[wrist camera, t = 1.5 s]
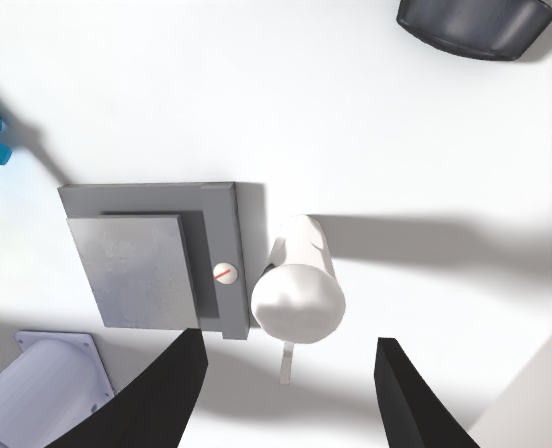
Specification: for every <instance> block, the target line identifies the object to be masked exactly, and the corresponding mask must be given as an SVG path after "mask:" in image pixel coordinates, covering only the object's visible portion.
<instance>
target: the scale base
mask: <svg viewBox="0 0 552 448" xmlns="http://www.w3.org/2000/svg"><path fill="white" fill-rule="evenodd" d="M57 189H58V192H59V195H60V198H61V201H62V203H63V206H64V209H65V212H66V215H67V217H70V216H72V215H181V221H182V226H183V231H184V236H185V241H186V247H187V252H188V257H189V262H190V267H191V273H192V278H193V283H194V288H195V293H196V299H197V304H198V309H199V314H200V320H201V327H200V329H201V331H215V332H222V335H223V339H235V340H247V337H248V333H249V329H250V319H249V310H248V301H247V291H246V282H245V273H244V263H243V254H242V245H241V235H240V226H239V217H238V207H237V198H236V189H235V182H195V183H144V184H93V185H64V186H61V187H59V188H57ZM116 328H125V327H116ZM141 329H150V328H141ZM166 330H175V329H166Z"/></svg>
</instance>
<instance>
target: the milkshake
mask: <svg viewBox="0 0 552 448" xmlns="http://www.w3.org/2000/svg"><path fill="white" fill-rule="evenodd" d="M251 310H252V313H253V315H254V317H255V319H256V320H257V322H258V323H259V325H260V326H261V327H262V329H263V330H264V331H265V332H266V333H267V334H269V335H270V336H272V337H275V338H277V339H280V340H282V341H285V343H284V351H283V358H282V366H281V373H280V381H279V382H280V384H285V385H289V380H290V372H291V363H292V354H293V346H294V344H311V343H315V342H318V341H320V340H322V339H323V338H325V337H327V336H328V335H330V334H331V333H332V332H333V331H334V330H335V329H336V328H337V327H338V326H339V324H340V322H341V320H342V318H343V315H344V312H345V298H344V294H343V292H342V289H341V286H340V283H339V281H338V278H337V275H336V272H335V269H334V266H333V263H332V260H331V256H330V253H329V249H328V245H327V242H326V238H325V235H324V232H323V230H322V228H321V226H320V224H319V222H318V221H317V220H315V219H313V218H311V217H309V216H307V215H299V216H291V217H290V218H289V219H288V220H287V221H286V222H284V223H283V224H282V225H281V227H280V230H279V232H278V235H277V238H276V240H275V243H274V245H273V248H272V250H271V253H270V255H269V258H268V260H267V262H266V264H265V267H264V269H263V271H262V273H261V275H260V277H259V280H258V282H257V284H256V286H255V288H254V290H253V294H252V300H251Z"/></svg>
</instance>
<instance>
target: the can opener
mask: <svg viewBox="0 0 552 448" xmlns="http://www.w3.org/2000/svg"><path fill="white" fill-rule="evenodd" d="M396 21H397V23H398V24H399V25H400V26H401V27H403V28H404V29H405V30H406V31H408V32H409V33H410V34H412V35H413V36H415V37H416V38H418V39H420V40H421V41H422V42H424V43H427V44H429V45H431V46H433V47H434V48H436V49H439V50H442V51H444V52H447V53H450V54H453V55H457V56H461V57H467V58H472V59H479V60H489V61H513V60H516V59H518V58H519V57H520V56H521V55H522V54H523V53H524V52H525V51H526V50H527V49H528V48H529V47H530V45H531V44H532V43H533V42H534V41H535V40H536V39H537V37H538V36H539V35H540V34H541V33H542V32H543V31H544V29H545V28H546V27H547V26H548V25H549V24H550V22H551V21H552V8H551V7H550V6H548V5H547V4H546V3H544V2H543V1H541V0H401V1H400V6H399V10H398V15H397V18H396Z"/></svg>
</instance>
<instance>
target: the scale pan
mask: <svg viewBox="0 0 552 448" xmlns="http://www.w3.org/2000/svg"><path fill="white" fill-rule="evenodd" d="M66 220H67V223H68V226H69V228H70V231H71V234H72V237H73V239H74V242H75V245H76V248H77V251H78V253H79V256H80V259H81V262H82V264H83V267H84V270H85V273H86V275H87V278H88V281H89V284H90V286H91V289H92V292H93V295H94V298H95V300H96V303H97V306H98V309H99V311H100V314H101V317H102V320H103V322H104V325H105V327H125V328H150V329H175V330H186V329H187V328H200V327H201V320H200V314H199V309H198V304H197V299H196V293H195V288H194V283H193V278H192V273H191V267H190V262H189V257H188V252H187V247H186V241H185V236H184V231H183V226H182V221H181V215H72V216H70V217H68V218H66Z"/></svg>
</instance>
